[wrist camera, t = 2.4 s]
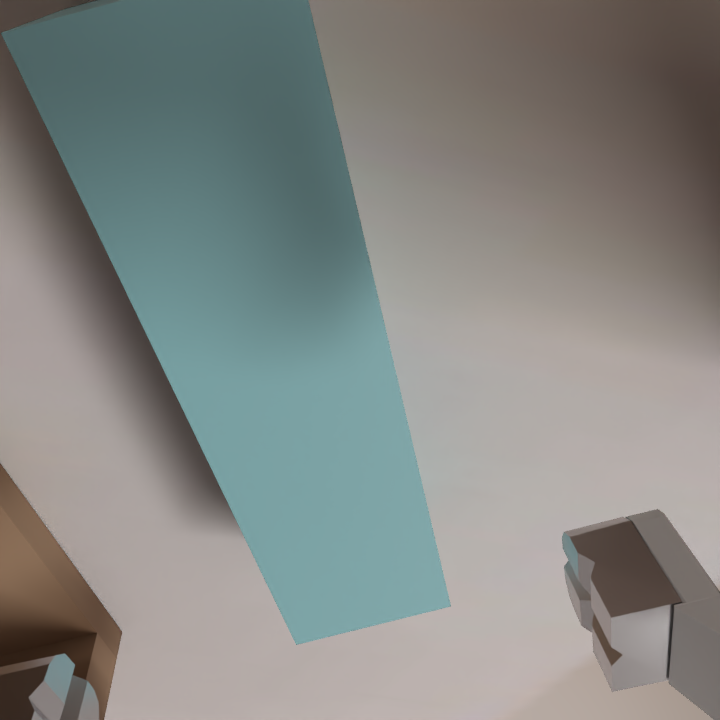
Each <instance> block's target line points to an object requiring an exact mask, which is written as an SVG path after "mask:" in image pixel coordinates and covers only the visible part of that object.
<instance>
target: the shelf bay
mask: <svg viewBox="0 0 720 720" xmlns="http://www.w3.org/2000/svg"><path fill="white" fill-rule="evenodd" d="M121 635H122V631H121V630H120V628H119V627H118V626H117V624H116V623H115V622H114V620H113V619H112V617H111V616H110V615H109V613H108V612H107V610H106V609H105V608H104V606H103V605H102V604H101V602H100V601H99V599H98V598H97V597H96V595H95V594H94V593H93V591H92V590H91V588H90V587H89V586H88V584H87V583H86V581H85V580H84V579H83V577H82V576H81V575H80V573H79V572H78V570H77V569H76V568H75V566H74V565H73V563H72V562H71V561H70V559H69V558H68V557H67V555H66V554H65V552H64V551H63V550H62V548H61V547H60V545H59V544H58V543H57V541H56V540H55V539H54V537H53V536H52V534H51V533H50V532H49V530H48V529H47V528H46V526H45V525H44V523H43V522H42V521H41V519H40V518H39V516H38V515H37V514H36V512H35V511H34V510H33V508H32V507H31V505H30V504H29V503H28V501H27V500H26V498H25V497H24V496H23V494H22V493H21V492H20V490H19V489H18V487H17V486H16V485H15V483H14V482H13V480H12V479H11V478H10V476H9V475H8V474H7V472H6V471H5V469H4V468H3V467H2V465H1V464H0V667H3V666H8V665H12V664H17V663H22V662H27V661H31V660H36V659H41V658H46V657H50V656H55V655H60V654H66V655H67V656H68V657H69V659H70V660H71V661H72V662H73V663H74V664H75V667H74V671H73V675H74V676H77V677H79V678H82V679H84V680H87V681H88V682H89V683H90V685H91V686H92V687H93V689H94V690H95V693H96V696H97V699H98V702H99V720H104V717H105V712H106V707H107V702H108V698H109V693H110V688H111V683H112V678H113V673H114V669H115V664H116V659H117V654H118V649H119V644H120V640H121Z"/></svg>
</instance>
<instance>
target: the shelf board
mask: <svg viewBox="0 0 720 720" xmlns="http://www.w3.org/2000/svg"><path fill="white" fill-rule="evenodd" d="M1 34H2V36H3V38H4V41H5V43H6V45H7V47H8V49H9V51H10V53H11V55H12V57H13V59H14V61H15V63H16V65H17V67H18V70H19V72H20V74H21V76H22V78H23V80H24V82H25V84H26V86H27V88H28V90H29V92H30V94H31V96H32V99H33V101H34V103H35V105H36V107H37V109H38V111H39V113H40V115H41V117H42V119H43V121H44V123H45V125H46V128H47V130H48V132H49V134H50V136H51V138H52V140H53V142H54V144H55V146H56V148H57V150H58V152H59V154H60V157H61V159H62V161H63V163H64V165H65V167H66V169H67V171H68V173H69V175H70V177H71V179H72V181H73V183H74V186H75V188H76V190H77V192H78V194H79V196H80V198H81V200H82V202H83V204H84V206H85V208H86V210H87V212H88V214H89V217H90V219H91V221H92V223H93V225H94V227H95V229H96V231H97V233H98V235H99V237H100V239H101V241H102V243H103V246H104V248H105V250H106V252H107V254H108V256H109V258H110V260H111V262H112V264H113V266H114V268H115V270H116V272H117V275H118V277H119V279H120V281H121V283H122V285H123V287H124V289H125V291H126V293H127V295H128V297H129V299H130V301H131V304H132V306H133V308H134V310H135V312H136V314H137V316H138V318H139V320H140V322H141V324H142V326H143V328H144V330H145V333H146V335H147V337H148V339H149V341H150V343H151V345H152V347H153V349H154V351H155V353H156V355H157V357H158V359H159V362H160V364H161V366H162V368H163V370H164V372H165V374H166V376H167V378H168V380H169V382H170V384H171V386H172V388H173V391H174V393H175V395H176V397H177V399H178V401H179V403H180V405H181V407H182V409H183V411H184V413H185V415H186V417H187V419H188V422H189V424H190V426H191V428H192V430H193V432H194V434H195V436H196V438H197V440H198V442H199V444H200V446H201V448H202V451H203V453H204V455H205V457H206V459H207V461H208V463H209V465H210V467H211V469H212V471H213V473H214V475H215V477H216V480H217V482H218V484H219V486H220V488H221V490H222V492H223V494H224V496H225V498H226V500H227V502H228V504H229V506H230V509H231V511H232V513H233V515H234V517H235V519H236V521H237V523H238V525H239V527H240V529H241V531H242V533H243V535H244V538H245V540H246V542H247V544H248V546H249V548H250V550H251V552H252V554H253V556H254V558H255V560H256V562H257V564H258V567H259V569H260V571H261V573H262V575H263V577H264V579H265V581H266V583H267V585H268V587H269V589H270V591H271V593H272V595H273V598H274V600H275V602H276V604H277V606H278V608H279V610H280V612H281V614H282V616H283V618H284V620H285V622H286V624H287V627H288V629H289V631H290V633H291V635H292V637H293V639H294V641H295V643H296V645H297V644H301V643H305V642H309V641H313V640H317V639H321V638H325V637H329V636H334V635H338V634H342V633H346V632H350V631H354V630H358V629H362V628H366V627H370V626H374V625H378V624H382V623H386V622H390V621H394V620H398V619H402V618H406V617H410V616H414V615H418V614H422V613H426V612H430V611H434V610H438V609H442V608H446V607H450V606H451V605H450V600H449V596H448V592H447V588H446V583H445V579H444V575H443V571H442V566H441V562H440V558H439V554H438V549H437V545H436V541H435V537H434V532H433V528H432V524H431V520H430V516H429V511H428V507H427V503H426V499H425V494H424V490H423V486H422V482H421V477H420V473H419V469H418V465H417V460H416V456H415V452H414V448H413V443H412V439H411V435H410V431H409V426H408V422H407V418H406V414H405V409H404V405H403V401H402V397H401V392H400V388H399V384H398V380H397V375H396V371H395V367H394V363H393V358H392V354H391V350H390V346H389V341H388V337H387V333H386V329H385V324H384V320H383V316H382V312H381V307H380V303H379V299H378V295H377V290H376V286H375V282H374V278H373V273H372V269H371V265H370V261H369V256H368V252H367V248H366V244H365V239H364V235H363V231H362V227H361V222H360V218H359V214H358V210H357V205H356V201H355V197H354V193H353V188H352V184H351V180H350V176H349V171H348V167H347V163H346V159H345V154H344V150H343V146H342V142H341V137H340V133H339V129H338V125H337V120H336V116H335V112H334V108H333V103H332V99H331V95H330V91H329V87H328V82H327V78H326V74H325V70H324V65H323V61H322V57H321V53H320V48H319V44H318V40H317V36H316V31H315V27H314V23H313V19H312V14H311V10H310V6H309V2H308V0H96V1H93V2H89V3H85V4H82V5H78V6H74V7H70V8H67V9H64V10H61V11H58V12H56V13H53V14H50V15H48V16H45V17H42V18H39V19H37V20H34V21H31V22H29V23H26V24H23V25H21V26H18V27H15V28H13V29H10V30H7V31H5V32H2V33H1Z"/></svg>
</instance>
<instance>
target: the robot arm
mask: <svg viewBox="0 0 720 720" xmlns="http://www.w3.org/2000/svg"><path fill="white" fill-rule="evenodd" d="M562 543H563V550H564V552H565V554H566V556H567V558H568V560H569V561H568V562H567V564H566V565H565V566H564V570H565V579H566V584H567V588H568V592H569V596H570V599H571V602H572V605H573V607H574V610H575V612H576V615H577V617H578V619H579V621H580V624H581V626H583V627H584V628H586V629H587V630H589V631H590V632H592V637H593V652H594V654H595V656H596V658H597V660H598V663H599V665H600V667H601V669H602V671H603V673H604V675H605V677H606V680H607V682H608V684H609V686H610V688H611V690H612V691H618V690H623V689H628V688H633V687H638V686H643V685H647V684H652V683H657V682H662V681H666V680H669V684H670V685H671V686H673V687H674V688H675V689H676V690H678V691H679V692H680V693H681V694H683V695H684V696H685V697H686V698H688V699H689V700H690V701H692V702H693V703H694V704H695V705H696V706H698V707H699V708H700V709H701V710H703V711H704V712H705V713H706V714H708V715H709V716H710V717H711V718H713V719H714V720H720V591H719V590H718V588H717V587H716V586H715V584H714V583H713V581H712V580H711V579H710V577H709V576H708V574H707V573H706V572H705V570H704V569H703V567H702V566H701V565H700V563H699V562H698V560H697V559H696V558H695V556H694V555H693V553H692V552H691V550H690V549H689V548H688V546H687V545H686V543H685V542H684V541H683V539H682V538H681V536H680V535H679V534H678V532H677V531H676V529H675V528H674V527H673V525H672V524H671V522H670V521H669V520H668V518H667V517H666V515H665V514H664V513H663V512H661V511H660V510H658V509H657V510H652V511H648V512H644V513H640V514H636V515H632V516H628V517H625V518H624V517H620V518H617V519H613V520H609V521H605V522H601V523H597V524H593V525H589V526H585V527H581V528H577V529H573V530H570V531H566V532H564V533H563V536H562ZM74 667H75V664H74V663H73V662H72V661H71V660H70V659H69V657H68V656H67V655H66V654H60V655H55V656H50V657H46V658H41V659H36V660H31V661H27V662H22V663H17V664H12V665H8V666H3V667H0V720H99V702H98V699H97V696H96V693H95V690H94V689H93V687H92V686H91V685H90V683H89V682H88V681H87V680H84V679H82V678H79V677H77V676H74V675H73V671H74Z"/></svg>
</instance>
